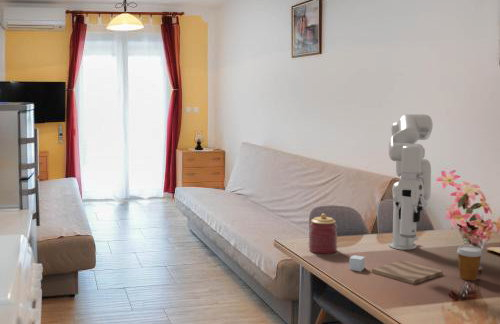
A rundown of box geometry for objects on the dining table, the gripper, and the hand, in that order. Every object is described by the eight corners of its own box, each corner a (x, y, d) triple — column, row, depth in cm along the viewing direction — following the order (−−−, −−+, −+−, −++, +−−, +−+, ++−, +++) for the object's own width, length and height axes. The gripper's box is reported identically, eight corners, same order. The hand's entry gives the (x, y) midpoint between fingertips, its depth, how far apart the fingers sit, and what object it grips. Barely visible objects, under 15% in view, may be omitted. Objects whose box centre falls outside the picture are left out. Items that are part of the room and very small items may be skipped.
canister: (324, 256, 267) (324, 217, 265) (303, 250, 277) (303, 213, 275) (342, 251, 276) (343, 213, 274) (321, 245, 286) (322, 209, 284)
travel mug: (417, 238, 236) (419, 188, 234) (400, 237, 238) (402, 188, 235) (416, 234, 242) (418, 186, 240) (399, 233, 244) (401, 185, 241)
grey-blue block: (353, 266, 251) (353, 255, 251) (364, 268, 249) (365, 256, 248) (349, 269, 247) (349, 257, 247) (360, 271, 245) (361, 259, 244)
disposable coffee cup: (478, 283, 230) (479, 253, 228) (453, 279, 235) (454, 249, 233) (483, 277, 238) (484, 247, 236) (458, 273, 243) (460, 244, 241)
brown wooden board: (401, 263, 256) (401, 260, 256) (442, 274, 241) (442, 270, 240) (371, 272, 243) (372, 268, 243) (413, 284, 228) (413, 280, 228)
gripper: (434, 177, 233) (433, 222, 235) (398, 173, 246) (396, 215, 248) (423, 179, 228) (421, 225, 230) (387, 174, 242) (385, 218, 244)
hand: (409, 219), depth 239 cm, fingers closed on travel mug, 6 cm apart
